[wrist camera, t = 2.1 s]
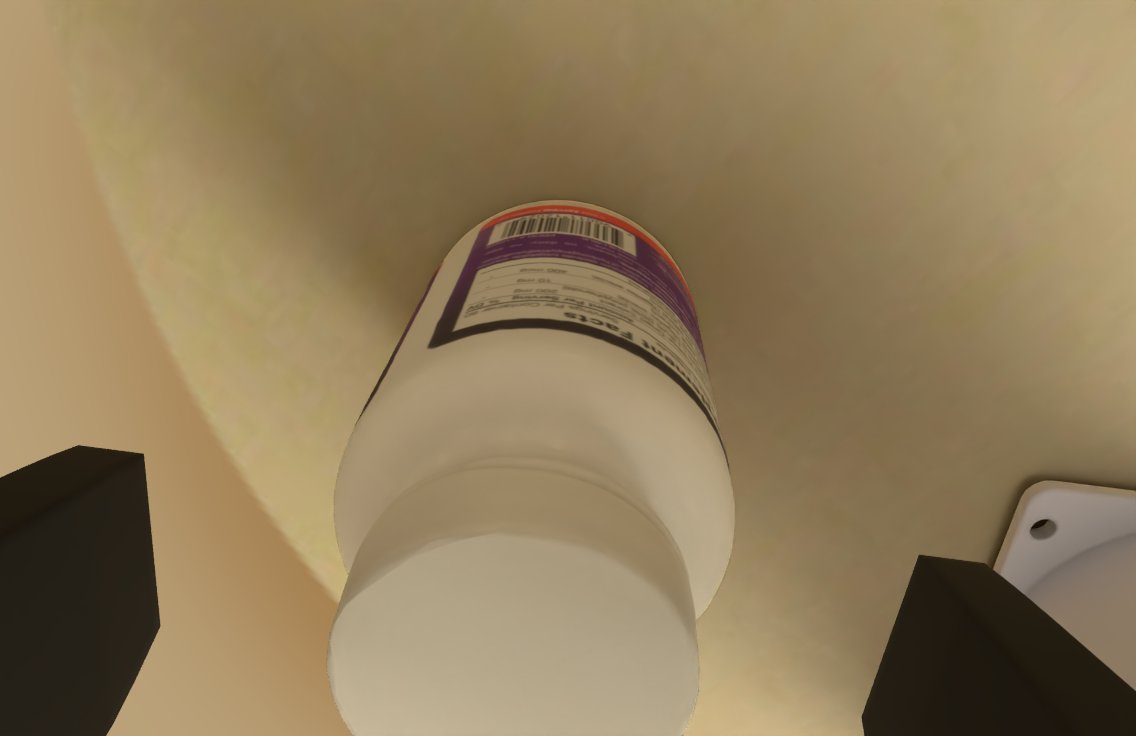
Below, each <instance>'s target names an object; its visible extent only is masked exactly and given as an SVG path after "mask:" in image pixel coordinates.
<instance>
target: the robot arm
mask: <svg viewBox="0 0 1136 736" xmlns="http://www.w3.org/2000/svg"><path fill="white" fill-rule="evenodd" d="M1043 519H1048V521H1047V522H1046V524H1045V525H1044V526H1042V527H1040V528H1037V529H1031V527H1032V526H1033V524H1034V523H1036V522H1037V521H1039V520H1043ZM159 628H160V618H159V606H158V596H157V586H156V576H155V565H154V556H153V545H152V535H151V524H150V513H149V503H148V493H147V482H146V472H145V462H144V454H141V453H134V452H126V451H118V450H111V449H103V448H95V447H87V446H80V445H78V446H75V447H72V448H70V449H67V450H65V451H62V452H59V453H56V454H54V455H51V456H49V457H47V458H44V459H42V460H39V461H37V462H35V463H32V464H30V465H28V466H25V467H23V468H21V469H19V470H16V471H14V472H12V473H10V474H7V475H5V476H3V477H1V478H0V736H106V735H107V733H108V732H109V730H110V728H111V727H112V725H113V723H114V721H115V719H116V717H117V715H118V713H119V711H120V709H121V707H122V705H123V703H124V701H125V699H126V697H127V695H128V693H129V691H130V689H131V687H132V685H133V684H134V681H135V680H136V677H137V675H138V673H139V671H140V668H141V667H142V665H143V662H144V660H145V658H146V656H147V654H148V652H149V649H150V647H151V645H152V643H153V641H154V639H155V637H156V634H157V632H158V630H159ZM862 723H863V729H864V736H1136V491H1134V490H1126V489H1118V488H1110V487H1102V486H1094V485H1086V484H1078V483H1070V482H1061V481H1053V480H1051V481H1041V482H1038V483H1036V484H1033V485H1032V486H1031V487H1029V488H1028V489H1027V490H1026V491H1025V492H1024V494H1023V495H1022V497H1021V499H1020V501H1019V504H1018V506H1017V509H1016V511H1015V514H1014V517H1013V519H1012V522H1011V524H1010V527H1009V529H1008V532H1007V534H1006V537H1005V539H1004V542H1003V545H1002V547H1001V550H1000V552H999V555H998V557H997V560H996V562H995V565H994V568H993V569H992V568H990V567H989V566H988V565H986V564H985V563H978V562H971V561H963V560H955V559H948V558H940V557H932V556H925V555H919V556H918V559H917V562H916V565H915V567H914V570H913V573H912V576H911V579H910V581H909V584H908V587H907V590H906V593H905V596H904V598H903V601H902V604H901V607H900V610H899V613H898V615H897V618H896V621H895V624H894V627H893V630H892V632H891V635H890V638H889V641H888V644H887V646H886V649H885V652H884V655H883V658H882V661H881V663H880V666H879V669H878V672H877V675H876V678H875V680H874V683H873V686H872V689H871V692H870V695H869V697H868V700H867V703H866V706H865V709H864V712H863V714H862Z"/></svg>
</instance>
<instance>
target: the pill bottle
mask: <svg viewBox="0 0 1136 736" xmlns="http://www.w3.org/2000/svg"><path fill="white" fill-rule="evenodd" d="M334 522H335V530H336V537H337V542H338V546H339V549H340V553H341V556H342V559H343V563H344V566H345V568H346V571H347V573H348V575H349V576H348V579H347V582H346V585H345V588H344V590H343V593H342V596H341V600H340V603H339V606H338V609H337V612H336V614H335V617H334V621H333V624H332V627H331V630H330V634H329V641H328V649H327V672H328V677H329V683H330V688H331V692H332V696H333V699H334V701H335V704H336V706H337V709H338V711H339V713H340V715H341V717H342V719H343V720H344V722H345V724H346V726H347V727H348V729H349V730H350V731H351V733H352V734H353V736H683V734H684V732H685V730H686V729H687V727H688V725H689V723H690V720H691V717H692V715H693V712H694V708H695V704H696V700H697V696H698V691H699V672H700V669H699V657H698V645H697V631H696V621H697V620H698V619H699V617H700V616H701V615H702V614H703V613H704V611H705V610H706V609H707V607H708V606H709V604H710V603H711V601H712V599H713V597H714V596H715V594H716V592H717V590H718V588H719V586H720V584H721V582H722V580H723V578H724V575H725V572H726V569H727V566H728V563H729V560H730V556H731V551H732V546H733V541H734V531H735V506H734V495H733V489H732V483H731V478H730V472H729V464H728V460H727V456H726V452H725V448H724V444H723V439H722V433H721V430H720V425H719V420H718V416H717V409H716V405H715V402H714V398H713V393H712V388H711V384H710V379H709V374H708V369H707V365H706V359H705V355H704V350H703V345H702V340H701V335H700V330H699V325H698V320H697V315H696V310H695V306H694V303H693V300H692V297H691V294H690V291H689V288H688V286H687V283H686V280H685V278H684V277H683V275H682V273H681V271H680V269H679V267H678V265H677V264H676V262H675V261H674V260H673V258H672V257H671V255H670V254H669V253H668V252H667V250H666V249H665V248H664V247H663V246H662V245H661V244H660V243H659V242H658V241H657V240H656V239H655V238H654V237H653V236H652V235H651V234H650V233H648V232H647V231H646V230H645V229H643V228H642V227H641V226H639V225H638V224H636V223H635V222H633V221H631V220H630V219H628V218H626V217H624V216H622V215H620V214H618V213H616V212H613V211H611V210H608V209H606V208H603V207H600V206H597V205H593V204H589V203H584V202H578V201H570V200H546V201H537V202H531V203H526V204H522V205H518V206H515V207H512V208H509V209H507V210H504V211H502V212H499V213H498V214H496V215H494V216H492V217H490V218H488V219H486V220H484V221H483V222H481V223H479V224H478V225H477V226H475V227H474V228H473V229H472V230H470V231H469V232H468V233H466V234H465V235H464V236H463V237H462V238H461V239H460V240H459V241H458V242H457V243H456V245H455V246H454V247H453V248H452V249H451V251H450V252H449V253H448V255H447V256H446V258H445V259H444V261H443V262H442V264H441V265H440V266H439V268H438V269H437V270H436V272H435V273H434V275H433V277H432V279H431V281H430V282H429V284H428V286H427V288H426V290H425V292H424V294H423V296H422V298H421V300H420V302H419V304H418V306H417V307H416V310H415V312H414V314H413V316H412V318H411V320H410V321H409V323H408V325H407V327H406V329H405V331H404V333H403V335H402V337H401V339H400V341H399V343H398V345H397V346H396V348H395V350H394V352H393V354H392V356H391V358H390V360H389V362H388V364H387V366H386V367H385V369H384V371H383V373H382V374H381V376H380V378H379V380H378V382H377V384H376V386H375V388H374V390H373V392H372V393H371V395H370V397H369V399H368V401H367V403H366V405H365V406H364V409H363V411H362V413H361V415H360V417H359V419H358V421H357V422H356V425H355V427H354V430H353V432H352V434H351V437H350V439H349V441H348V444H347V446H346V448H345V451H344V454H343V457H342V460H341V463H340V466H339V470H338V475H337V480H336V486H335V493H334Z"/></svg>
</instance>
